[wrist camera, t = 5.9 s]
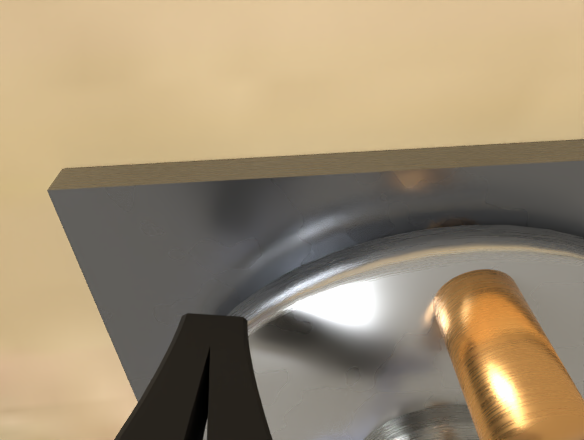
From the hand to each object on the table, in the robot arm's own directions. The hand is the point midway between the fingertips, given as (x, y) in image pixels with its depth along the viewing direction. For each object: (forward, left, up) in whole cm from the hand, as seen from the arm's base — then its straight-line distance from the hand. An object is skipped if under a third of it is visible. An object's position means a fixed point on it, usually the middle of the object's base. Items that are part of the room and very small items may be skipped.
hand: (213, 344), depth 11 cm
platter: (-8, -6, -2) cm, 10 cm away
